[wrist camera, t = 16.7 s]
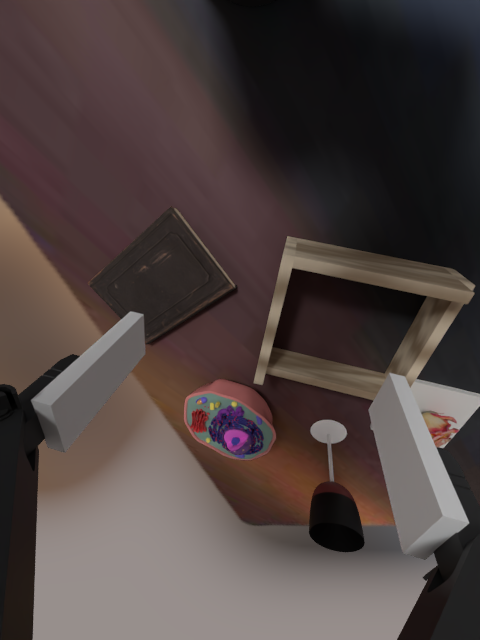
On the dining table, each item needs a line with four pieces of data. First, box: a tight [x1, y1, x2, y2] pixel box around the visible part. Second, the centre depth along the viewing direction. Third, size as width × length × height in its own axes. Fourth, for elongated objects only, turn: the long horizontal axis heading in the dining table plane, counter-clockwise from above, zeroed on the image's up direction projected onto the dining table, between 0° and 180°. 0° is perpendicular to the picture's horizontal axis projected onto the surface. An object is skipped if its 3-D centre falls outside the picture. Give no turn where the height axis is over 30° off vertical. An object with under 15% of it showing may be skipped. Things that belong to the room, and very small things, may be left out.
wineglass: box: [309, 420, 364, 552], centre depth 53 cm, size 8×9×20 cm
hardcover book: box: [88, 206, 237, 344], centre depth 51 cm, size 16×23×2 cm
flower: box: [422, 411, 459, 447], centre depth 50 cm, size 9×9×7 cm
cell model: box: [184, 379, 276, 461], centre depth 57 cm, size 17×20×11 cm
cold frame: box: [254, 236, 475, 400], centre depth 43 cm, size 22×24×9 cm
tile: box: [370, 379, 480, 448], centre depth 53 cm, size 14×14×1 cm
